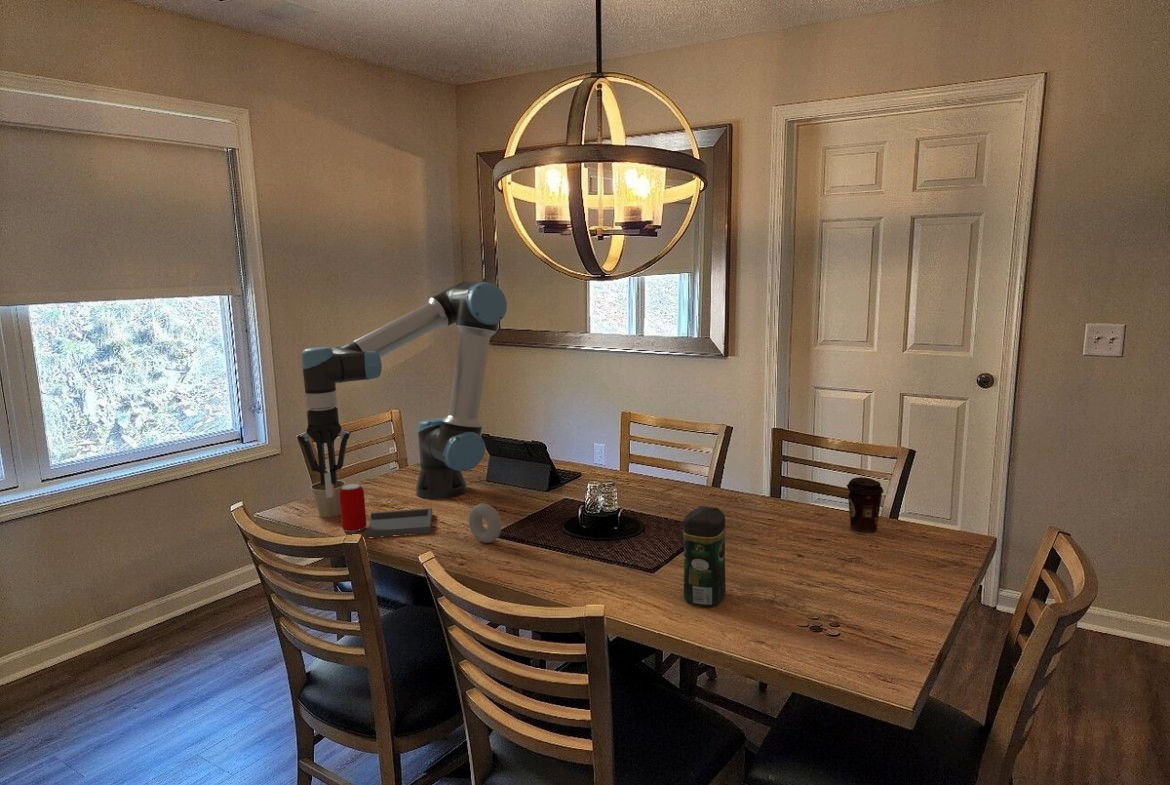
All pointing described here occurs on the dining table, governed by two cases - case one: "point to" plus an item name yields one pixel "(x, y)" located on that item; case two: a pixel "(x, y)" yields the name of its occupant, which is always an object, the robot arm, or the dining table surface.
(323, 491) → the flower pot
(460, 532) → the dining table surface
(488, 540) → the donut
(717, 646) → the dining table surface
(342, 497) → the beverage can
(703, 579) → the coffee jar
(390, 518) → the tray
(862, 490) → the coffee cup
